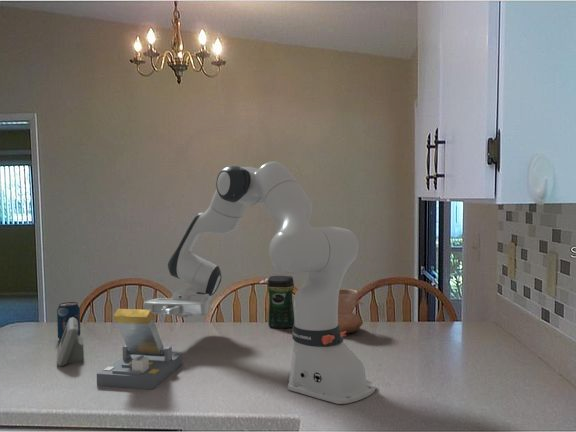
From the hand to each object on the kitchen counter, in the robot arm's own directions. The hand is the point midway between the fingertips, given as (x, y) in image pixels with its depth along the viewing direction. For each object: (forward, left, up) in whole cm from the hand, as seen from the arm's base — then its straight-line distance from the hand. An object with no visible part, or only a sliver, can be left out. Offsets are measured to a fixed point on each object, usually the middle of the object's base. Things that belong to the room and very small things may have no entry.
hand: (165, 312), depth 138 cm
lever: (-7, +9, -8) cm, 14 cm away
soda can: (+39, +15, -13) cm, 44 cm away
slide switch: (-14, +15, -10) cm, 22 cm away
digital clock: (+19, +22, -13) cm, 32 cm away
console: (-9, +12, -13) cm, 20 cm away
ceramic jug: (-18, -57, -13) cm, 61 cm away
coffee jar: (+1, -47, -13) cm, 49 cm away
